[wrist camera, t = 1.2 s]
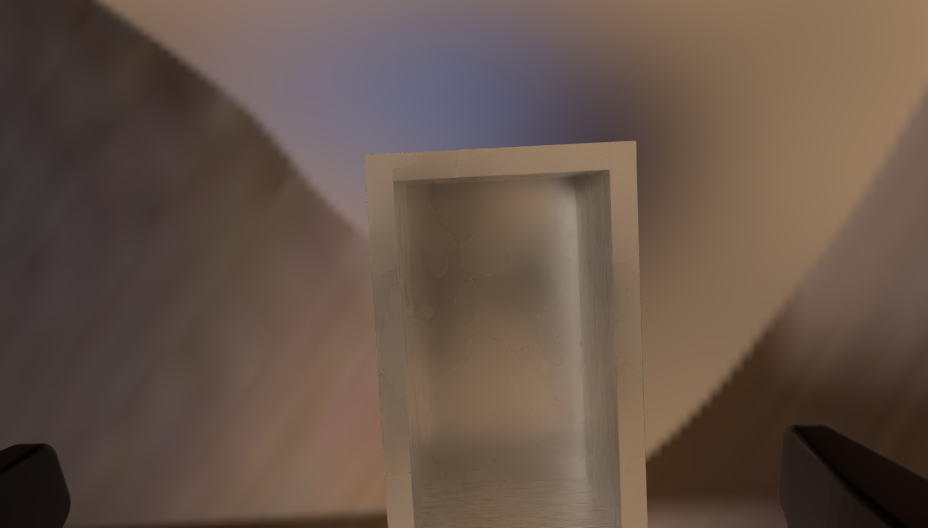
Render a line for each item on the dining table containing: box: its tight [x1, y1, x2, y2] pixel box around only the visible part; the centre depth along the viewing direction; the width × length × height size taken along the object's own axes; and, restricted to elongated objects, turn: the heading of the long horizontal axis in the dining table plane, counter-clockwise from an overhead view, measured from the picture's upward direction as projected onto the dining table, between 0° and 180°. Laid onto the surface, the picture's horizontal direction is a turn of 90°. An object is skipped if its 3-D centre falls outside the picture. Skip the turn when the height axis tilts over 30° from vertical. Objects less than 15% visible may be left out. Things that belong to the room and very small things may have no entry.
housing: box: [364, 141, 648, 528], centre depth 19 cm, size 10×6×5 cm, turn 3°
